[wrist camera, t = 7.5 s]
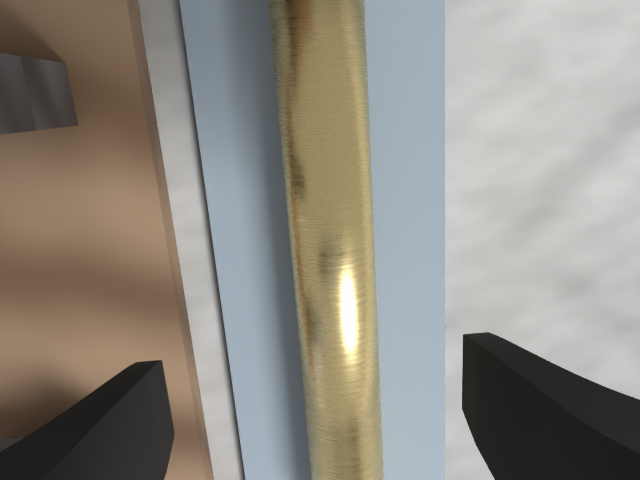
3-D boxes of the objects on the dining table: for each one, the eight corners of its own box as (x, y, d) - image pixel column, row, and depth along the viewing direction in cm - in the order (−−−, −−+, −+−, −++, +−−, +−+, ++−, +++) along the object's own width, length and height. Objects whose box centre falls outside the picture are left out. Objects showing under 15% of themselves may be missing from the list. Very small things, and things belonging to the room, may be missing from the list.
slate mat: (442, 527, 24) (445, 534, 23) (256, 545, 23) (255, 553, 23) (441, -159, 16) (444, -165, 16) (162, -142, 16) (158, -148, 15)
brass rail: (378, 488, 22) (392, 545, 20) (313, 496, 22) (318, 554, 19) (354, -51, 16) (369, -83, 14) (264, -46, 16) (260, -77, 13)
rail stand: (219, 515, 23) (190, 671, 17) (2, 536, 23) (-110, 702, 16) (126, -68, 16) (20, -172, 10) (-184, -48, 16) (-491, -142, 10)
